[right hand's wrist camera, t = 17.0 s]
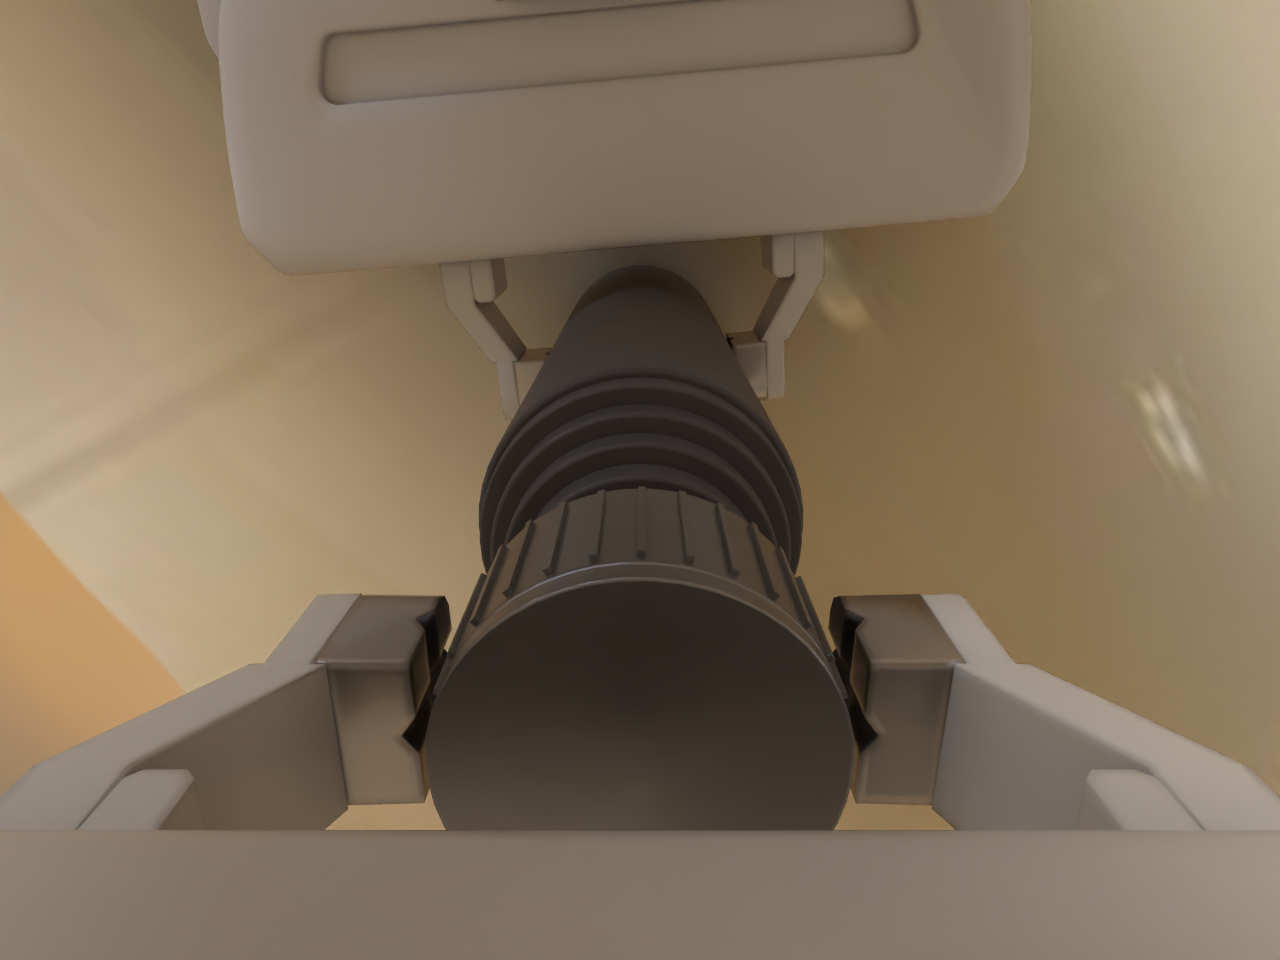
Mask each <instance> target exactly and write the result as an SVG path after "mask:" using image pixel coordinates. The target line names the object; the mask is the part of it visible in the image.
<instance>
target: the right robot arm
mask: <svg viewBox="0 0 1280 960" xmlns="http://www.w3.org/2000/svg"><path fill="white" fill-rule="evenodd" d="M451 629H452V628H451V620H450V611H449V604H448V602H447V600H446V598H445V596H420V595H362V594H327V595H318V596H317V597H316V598H315V599H314V600H313V601H312V603H311V604H310V605H309V606H308V608H307V609H306V610H305V612H304V613H303V614H302V615H301V617H300V618H299V619H298V621H297V622H296V623H295V624H294V626H293V627H292V628H291V629H290V631H289V632H288V633H287V635H286V636H285V637H284V638H283V640H282V641H281V642H280V644H279V645H278V646H277V647H276V649H275V650H274V651H273V653H272V654H271V655H270V656H269V658H268V659H267V660H266V662H265V663H264V664H249V665H247V666H245V667H243V668H241V669H239V670H236V671H234V672H232V673H230V674H228V675H226V676H224V677H221V678H219V679H217V680H215V681H213V682H211V683H209V684H206V685H204V686H202V687H200V688H198V689H196V690H194V691H192V692H189V693H187V694H185V695H183V696H181V697H179V698H177V699H174V700H172V701H170V702H168V703H166V704H164V705H162V706H160V707H157V708H155V709H153V710H151V711H149V712H147V713H145V714H142V715H140V716H138V717H136V718H134V719H132V720H130V721H128V722H125V723H123V724H121V725H119V726H117V727H115V728H113V729H110V730H108V731H106V732H104V733H102V734H100V735H98V736H95V737H93V738H91V739H89V740H87V741H85V742H83V743H81V744H78V745H76V746H74V747H72V748H70V749H68V750H66V751H63V752H61V753H59V754H57V755H55V756H53V757H51V758H48V759H46V760H44V761H42V762H40V763H38V764H36V765H34V766H32V767H31V768H30V769H29V770H28V771H27V772H26V773H25V774H24V775H23V776H22V777H21V778H20V779H19V780H18V781H17V782H16V783H14V784H13V786H11V787H10V788H9V789H8V790H7V791H6V792H5V793H4V794H3V795H2V796H1V797H0V960H1280V797H1279V796H1278V795H1277V794H1276V793H1275V792H1274V791H1273V790H1272V789H1271V788H1270V787H1269V786H1268V785H1267V784H1266V783H1265V782H1264V781H1263V780H1262V779H1261V778H1260V777H1259V776H1258V775H1257V774H1256V773H1255V772H1254V771H1253V770H1252V769H1251V768H1250V767H1248V766H1246V765H1244V764H1242V763H1240V762H1237V761H1235V760H1233V759H1231V758H1229V757H1227V756H1225V755H1222V754H1220V753H1218V752H1216V751H1214V750H1212V749H1210V748H1208V747H1205V746H1203V745H1201V744H1199V743H1197V742H1195V741H1193V740H1191V739H1188V738H1186V737H1184V736H1182V735H1180V734H1178V733H1176V732H1174V731H1171V730H1169V729H1167V728H1165V727H1163V726H1161V725H1159V724H1156V723H1154V722H1152V721H1150V720H1148V719H1146V718H1144V717H1142V716H1139V715H1137V714H1135V713H1133V712H1131V711H1129V710H1127V709H1125V708H1122V707H1120V706H1118V705H1116V704H1114V703H1112V702H1110V701H1108V700H1105V699H1103V698H1101V697H1099V696H1097V695H1095V694H1093V693H1091V692H1088V691H1086V690H1084V689H1082V688H1080V687H1078V686H1076V685H1073V684H1071V683H1069V682H1067V681H1065V680H1063V679H1061V678H1059V677H1056V676H1054V675H1052V674H1050V673H1048V672H1046V671H1044V670H1042V669H1039V668H1037V667H1035V666H1033V665H1031V664H1016V663H1015V662H1014V660H1013V659H1012V658H1011V656H1010V655H1009V654H1008V653H1007V651H1006V650H1005V649H1004V647H1003V646H1002V645H1001V644H1000V642H999V641H998V640H997V639H996V637H995V636H994V635H993V633H992V632H991V631H990V630H989V628H988V627H987V626H986V625H985V623H984V622H983V621H982V619H981V618H980V617H979V616H978V614H977V613H976V612H975V610H974V609H973V608H972V607H971V605H970V604H969V603H968V602H967V600H966V599H965V598H964V596H961V595H959V594H956V593H953V594H931V595H920V594H906V595H863V596H838V597H835V598H834V599H833V602H832V606H831V610H830V619H829V628H828V629H829V631H830V634H831V636H832V639H833V641H834V644H835V646H836V649H835V650H834V652H833V656H834V658H835V661H834V662H835V665H836V667H837V669H838V672H839V674H840V677H841V679H842V682H843V684H844V687H845V689H846V692H847V697H848V698H846V699H844V701H845V703H846V706H847V708H848V712H849V717H850V721H851V725H852V730H853V739H854V754H855V756H854V767H853V777H852V782H851V786H850V788H851V791H852V793H853V796H854V799H855V802H856V803H869V804H906V805H932V809H933V810H934V811H935V812H936V813H938V814H939V815H940V816H941V817H942V818H943V819H944V820H946V821H947V822H948V823H949V824H950V825H951V826H952V827H953V828H955V829H956V830H325V829H326V828H327V827H328V826H329V825H330V824H332V823H333V822H334V821H335V820H336V819H337V818H338V817H340V816H341V815H342V814H343V813H344V812H345V811H346V810H348V806H347V805H373V804H409V803H425V800H426V797H427V794H428V791H429V788H430V787H429V784H428V778H427V770H426V762H425V748H426V733H427V728H428V723H429V718H430V713H431V710H432V707H433V704H434V702H435V699H436V696H437V695H433V690H434V687H435V685H436V682H437V680H438V677H439V675H440V672H441V670H442V668H443V665H444V663H445V660H446V658H447V657H446V655H447V651H446V650H445V649H444V647H445V644H446V642H447V639H448V637H449V634H450V632H451Z"/></svg>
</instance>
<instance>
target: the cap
mask: <svg viewBox="0 0 1280 960" xmlns="http://www.w3.org/2000/svg"><path fill="white" fill-rule="evenodd" d="M446 657H447V658H446V660H445V663H444V665H443V668H442V670H441V672H440V675H439V677H438V680H437V682H436V685H435V687H434V690H433V695H437V696H436V699H435V702H434V704H433V707H432V710H431V713H430V718H429V723H428V728H427V733H426V748H425V762H426V770H427V778H428V784H429V787H430V791H431V794H432V798H433V801H434V805H435V807H436V810H437V812H438V814H439V816H440V818H441V821H442V823H443V825H444V827H445V829H446V830H834V828H835V827H836V825H837V823H838V821H839V818H840V816H841V814H842V811H843V809H844V807H845V804H846V802H847V798H848V794H849V790H850V786H851V782H852V777H853V767H854V756H855V754H854V739H853V730H852V725H851V721H850V717H849V712H848V708H847V706H846V703H845V701H844V699H846V698H848V697H847V692H846V689H845V687H844V684H843V682H842V679H841V677H840V674H839V672H838V669H837V667H836V665H835V662H834V661H835V658H834V656H833V653H832V651H831V648H830V646H829V643H828V641H827V639H826V636H825V634H824V631H823V629H822V626H821V624H820V621H819V619H818V616H817V614H816V611H815V609H814V607H813V604H812V602H811V599H810V597H809V594H808V592H807V589H806V587H805V584H804V582H803V580H802V578H801V576H799V577H797V578H796V577H795V575H794V574H793V572H792V570H791V568H790V565H789V563H788V560H787V558H786V555H785V553H784V550H783V549H782V548H781V547H778V548H777V549H776V548H775V546H774V545H773V544H772V543H771V542H770V541H769V540H768V539H767V538H766V537H765V536H764V535H763V534H762V533H761V532H760V531H759V529H758V527H757V525H756V524H755V523H754V522H751V523H750V524H749V523H748V522H746V521H745V520H744V519H742V518H741V517H739V516H738V515H736V514H734V513H732V512H730V511H729V510H727V509H725V508H724V505H723V504H721V503H719V502H717V504H714V503H712V502H709V501H706V500H704V499H701V498H698V497H695V496H691V495H687V494H686V492H685V491H680V490H679V492H675V491H667V490H658V489H646V487H645V486H639V487H638V489H621V490H614V491H606V492H605V490H600V491H598V492H597V494H593V495H589V496H586V497H582V498H579V499H576V500H574V501H571V502H569V503H567V502H566V501H564V502H562V503H560V504H559V507H557V508H555V509H553V510H552V511H550V512H548V513H546V514H544V515H543V516H541V517H539V518H538V519H536V520H535V521H534V522H533V521H532V520H529V521H528V522H527V523H526V524H525V527H524V529H523V530H522V531H521V532H519V533H518V534H517V535H516V536H515V537H514V538H513V539H512V540H511V541H510V542H509V543H508V544H507V545H506V546H505V545H504V544H502V545H501V546H500V547H499V549H498V551H497V554H496V556H495V559H494V561H493V564H492V565H491V567H490V569H489V571H488V573H487V575H485V574H483V573H481V575H480V577H479V579H478V581H477V584H476V586H475V588H474V591H473V593H472V596H471V598H470V600H469V603H468V605H467V607H466V610H465V612H464V615H463V617H462V619H461V622H460V624H459V627H458V629H457V631H456V634H455V636H454V639H453V641H452V643H451V646H450V648H449V651H448V653H447V655H446Z"/></svg>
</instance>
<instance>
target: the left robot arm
mask: <svg viewBox="0 0 1280 960" xmlns="http://www.w3.org/2000/svg"><path fill="white" fill-rule="evenodd" d="M197 3H198V7H199V11H200V16H201V20H202V24H203V28H204V32H205V35H206V38H207V40H208V42H209V44H210V46H211V48H212V50H213V52H214V54H215V56H216V57H217V59H218V61H219V66H220V82H221V94H222V105H223V117H224V125H225V134H226V142H227V150H228V158H229V164H230V171H231V177H232V183H233V189H234V194H235V200H236V206H237V211H238V216H239V220H240V224H241V228H242V231H243V234H244V237H245V238H246V240H247V242H248V243H249V244H250V246H251V247H252V248H253V249H254V250H255V251H256V252H257V253H258V254H260V255H261V256H262V257H263V258H264V259H265V260H266V261H267V262H268V263H269V264H270V265H271V266H272V267H273V268H274V269H276V270H277V271H278V272H279V273H281V274H283V275H287V276H294V275H307V274H319V273H331V272H342V271H354V270H366V269H378V268H389V267H401V266H413V265H425V264H436V263H439V265H440V271H441V277H442V283H443V289H444V295H445V301H446V307H447V308H448V309H449V310H450V312H451V313H452V314H453V315H454V317H455V318H456V319H457V320H458V322H459V323H460V324H461V326H462V327H463V328H464V329H465V331H466V332H467V333H468V334H469V336H470V337H471V338H472V339H473V341H474V342H475V343H476V345H477V346H478V347H479V348H480V350H481V351H482V352H483V353H484V355H485V356H486V357H487V358H488V360H489V361H490V362H491V363H496V368H497V375H498V382H499V388H500V395H501V402H502V409H503V414H504V416H505V419H506V420H512V419H513V418H514V416H515V414H516V412H517V410H518V409H519V407H520V405H521V403H522V401H523V400H524V398H525V396H526V394H527V393H528V391H529V389H530V387H531V385H532V384H533V382H534V380H535V378H536V376H537V375H538V373H539V371H540V369H541V367H542V366H543V364H544V362H545V360H546V358H547V357H548V355H549V353H550V351H551V350H552V348H538V349H526V346H525V345H524V344H523V342H522V341H521V339H520V338H519V337H518V335H517V334H516V332H515V331H514V330H513V328H512V327H511V325H510V324H509V323H508V321H507V320H506V318H505V317H504V316H503V314H502V313H501V311H500V310H499V309H498V307H497V306H496V304H495V303H494V302H493V300H495V299H496V298H497V297H498V296H499V295H500V294H502V293H503V292H504V291H505V290H506V288H507V282H506V274H505V266H504V258H507V257H518V256H530V255H542V254H554V253H565V252H577V251H589V250H600V249H612V248H624V247H636V246H647V245H659V244H671V243H683V242H694V241H706V240H718V239H729V238H741V237H753V236H761V245H762V266H763V267H764V268H765V269H766V270H767V271H769V272H770V273H772V274H773V275H774V276H776V277H777V278H778V280H777V282H776V284H775V286H774V288H773V290H772V292H771V294H770V296H769V298H768V300H767V302H766V304H765V306H764V308H763V310H762V312H761V314H760V316H759V318H758V320H757V322H756V324H755V326H754V328H753V330H754V331H745V332H735V333H726V340H727V342H728V344H729V346H730V348H731V349H732V351H733V353H734V355H735V357H736V359H737V360H738V362H739V364H740V366H741V368H742V370H743V371H744V373H745V375H746V377H747V379H748V381H749V382H750V384H751V386H752V388H753V390H754V392H755V393H756V395H757V397H758V399H759V400H771V399H783V397H784V392H785V363H784V340H785V339H789V337H790V336H791V334H792V332H793V330H794V328H795V327H796V325H797V323H798V321H799V319H800V318H801V316H802V314H803V312H804V310H805V309H806V307H807V305H808V303H809V301H810V300H811V298H812V296H813V294H814V292H815V291H816V289H817V287H818V285H819V283H820V282H821V280H822V278H823V276H824V230H835V229H847V228H858V227H870V226H882V225H894V224H905V223H917V222H929V221H941V220H952V219H963V218H975V217H984V216H987V215H990V214H991V213H992V212H994V211H995V209H996V208H997V207H998V206H999V205H1000V204H1001V202H1002V201H1003V200H1004V198H1005V197H1006V196H1007V194H1008V193H1009V192H1010V190H1011V189H1012V188H1013V186H1014V185H1015V183H1016V182H1017V181H1018V179H1019V178H1020V177H1021V175H1022V173H1023V170H1024V167H1025V163H1026V159H1027V152H1028V144H1029V133H1030V117H1031V94H1032V22H1031V2H1030V0H197Z"/></svg>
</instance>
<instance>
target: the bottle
mask: <svg viewBox="0 0 1280 960" xmlns="http://www.w3.org/2000/svg"><path fill="white" fill-rule="evenodd" d="M639 486H645V487H646V489H658V490H667V491H675V492H679V490H680V491H685V492H686V494H687V495H691V496H695V497H698V498H701V499H704V500H706V501H709V502H712V503H714V504H717V502H719V503H721V504H723V505H724V508H725V509H727V510H729V511H730V512H732V513H734V514H736V515H738V516H739V517H741V518H742V519H744V520H745V521H746V522H748V523H749V524H750V523H751V522H754V523H755V524H756V525H757V527H758V529H759V531H760V532H761V533H762V534H763V535H764V536H765V537H766V538H767V539H768V540H769V541H770V542H771V543H772V544H773V545H774V546H775V548H776V549H777V548H778V547H781V548H782V549H783V550H784V553H785V555H786V558H787V560H788V563H789V565H790V568H791V570H792V572H793V574H794V575H795V573H796V570H797V567H798V563H799V558H800V551H801V545H802V530H803V505H802V497H801V489H800V485H799V482H798V478H797V475H796V471H795V468H794V466H793V464H792V462H791V459H790V457H789V455H788V452H787V450H786V448H785V447H784V445H783V443H782V441H781V439H780V437H779V436H778V434H777V432H776V430H775V428H774V426H773V425H772V423H771V421H770V419H769V417H768V415H767V414H766V412H765V410H764V408H763V406H762V404H761V403H760V401H759V399H758V397H757V395H756V393H755V392H754V390H753V388H752V386H751V384H750V382H749V381H748V379H747V377H746V375H745V373H744V371H743V370H742V368H741V366H740V364H739V362H738V360H737V359H736V357H735V355H734V353H733V351H732V349H731V348H730V346H729V344H728V342H727V340H726V338H725V337H724V335H723V333H722V331H721V329H720V327H719V326H718V324H717V322H716V320H715V318H714V316H713V315H712V313H711V311H710V309H709V307H708V305H707V304H706V302H705V300H704V299H703V297H702V296H701V295H700V293H699V292H698V291H697V290H696V289H695V288H694V287H693V286H692V285H691V284H690V283H689V282H687V281H686V280H685V279H683V278H682V277H680V276H678V275H676V274H675V273H673V272H670V271H667V270H665V269H662V268H657V267H652V266H632V267H627V268H622V269H619V270H616V271H613V272H611V273H609V274H607V275H605V276H603V277H602V278H601V279H599V280H598V281H596V282H595V283H594V284H593V285H592V286H591V287H589V288H588V290H587V291H586V292H585V293H584V294H583V295H582V297H581V298H580V300H579V302H578V303H577V305H576V307H575V308H574V310H573V312H572V314H571V315H570V317H569V319H568V321H567V323H566V324H565V326H564V328H563V330H562V332H561V333H560V335H559V337H558V339H557V341H556V342H555V344H554V346H553V348H552V350H551V351H550V353H549V355H548V357H547V358H546V360H545V362H544V364H543V366H542V367H541V369H540V371H539V373H538V375H537V376H536V378H535V380H534V382H533V384H532V385H531V387H530V389H529V391H528V393H527V394H526V396H525V398H524V400H523V401H522V403H521V405H520V407H519V409H518V410H517V412H516V414H515V416H514V418H513V419H512V421H511V423H510V425H509V427H508V428H507V430H506V432H505V434H504V436H503V437H502V439H501V441H500V443H499V445H498V446H497V448H496V450H495V452H494V455H493V457H492V459H491V461H490V463H489V465H488V468H487V471H486V474H485V478H484V481H483V484H482V490H481V496H480V503H479V529H480V545H481V553H482V560H483V563H484V567H485V571H486V574H487V573H488V571H489V569H490V567H491V565H492V564H493V561H494V559H495V556H496V554H497V551H498V549H499V547H500V546H501V545H502V544H504V545H505V546H506V545H507V544H508V543H509V542H510V541H511V540H512V539H513V538H514V537H515V536H516V535H517V534H518V533H519V532H521V531H522V530H523V529H524V527H525V524H526V523H527V522H528V521H529V520H532V521H533V522H534V521H535V520H536V519H538V518H539V517H541V516H543V515H544V514H546V513H548V512H550V511H552V510H553V509H555V508H557V507H559V504H560V503H562V502H564V501H566V502H567V503H569V502H571V501H574V500H576V499H579V498H582V497H586V496H589V495H593V494H597V492H598V491H600V490H605V492H606V491H614V490H621V489H638V487H639Z"/></svg>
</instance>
